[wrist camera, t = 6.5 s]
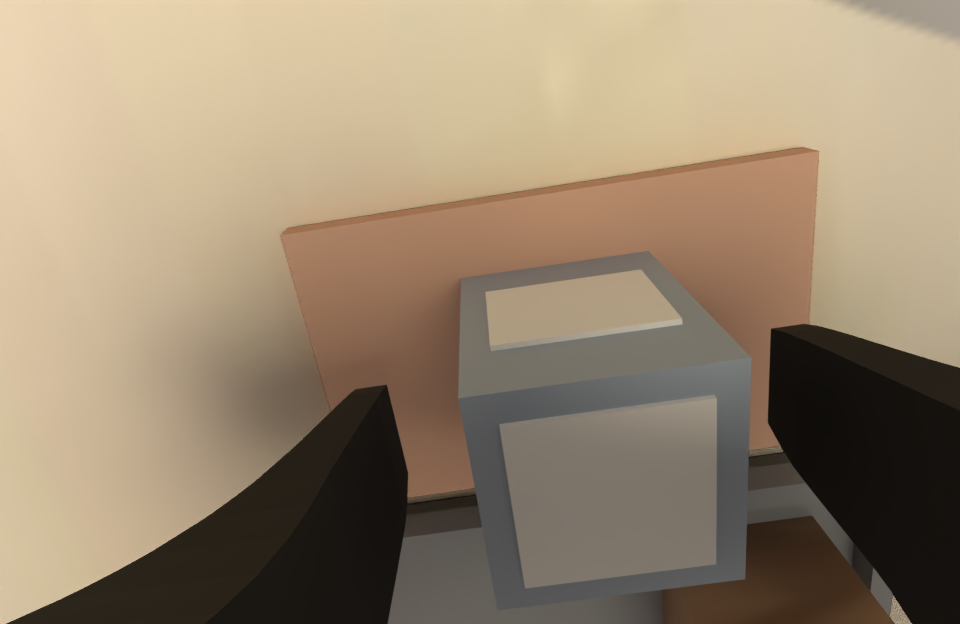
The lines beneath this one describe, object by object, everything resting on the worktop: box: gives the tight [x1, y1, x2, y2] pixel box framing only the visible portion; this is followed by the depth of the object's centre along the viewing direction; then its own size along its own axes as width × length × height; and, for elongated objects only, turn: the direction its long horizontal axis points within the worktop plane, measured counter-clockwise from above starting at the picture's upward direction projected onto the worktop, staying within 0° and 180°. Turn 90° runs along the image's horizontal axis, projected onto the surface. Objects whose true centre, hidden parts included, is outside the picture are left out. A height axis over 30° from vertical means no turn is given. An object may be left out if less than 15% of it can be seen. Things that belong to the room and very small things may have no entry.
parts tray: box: [388, 453, 893, 624], centre depth 17 cm, size 16×8×1 cm, turn 99°
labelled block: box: [458, 251, 751, 610], centre depth 11 cm, size 4×4×5 cm
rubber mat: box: [280, 147, 819, 498], centre depth 14 cm, size 11×7×1 cm, turn 99°
